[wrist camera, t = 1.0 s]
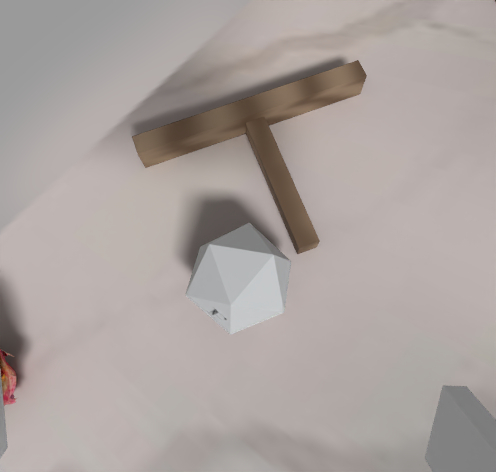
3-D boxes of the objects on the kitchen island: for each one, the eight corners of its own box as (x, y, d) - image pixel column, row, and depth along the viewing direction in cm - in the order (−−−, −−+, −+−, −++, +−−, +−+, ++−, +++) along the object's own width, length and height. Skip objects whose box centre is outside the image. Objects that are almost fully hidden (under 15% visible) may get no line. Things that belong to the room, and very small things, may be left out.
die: (186, 256, 42) (154, 304, 33) (246, 195, 39) (228, 229, 30) (247, 311, 43) (232, 371, 34) (310, 255, 40) (311, 306, 31)
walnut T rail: (352, 79, 47) (358, 60, 44) (420, 208, 42) (432, 196, 39) (140, 151, 45) (131, 136, 42) (187, 294, 40) (182, 289, 37)
